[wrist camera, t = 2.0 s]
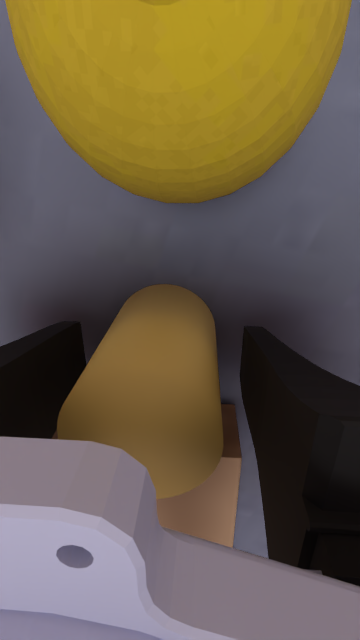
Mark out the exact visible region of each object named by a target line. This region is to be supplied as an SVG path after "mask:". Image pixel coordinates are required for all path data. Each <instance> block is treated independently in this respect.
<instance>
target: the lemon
mask: <svg viewBox="0 0 360 640" xmlns="http://www.w3.org/2000/svg"><path fill="white" fill-rule="evenodd" d="M5 1H6V6H7V11H8V15H9V20H10V24H11V29H12V33H13V38H14V43H15V46H16V49H17V53H18V55H19V58H20V60H21V62H22V65H23V67H24V69H25V72H26V74H27V76H28V78H29V81H30V83H31V85H32V88H33V90H34V92H35V95H36V97H37V99H38V101H39V103H40V104H41V106H42V108H43V109H44V110H45V112H46V113H47V115H48V116H49V118H50V119H51V121H52V122H53V124H54V125H55V127H56V128H57V129H58V131H59V132H60V134H61V135H62V137H63V138H64V140H65V141H66V143H67V144H68V145H69V146H70V147H71V148H72V149H73V150H74V151H75V152H76V153H77V154H78V155H79V156H80V157H81V158H82V159H84V160H85V161H86V162H87V163H88V164H89V165H90V166H91V167H92V168H93V169H94V170H95V171H96V172H97V173H98V174H100V175H101V176H102V177H104V178H106V179H107V180H109V181H111V182H113V183H114V184H116V185H118V186H120V187H122V188H123V189H125V190H127V191H129V192H131V193H132V194H135V195H138V196H142V197H146V198H150V199H153V200H157V201H161V202H165V203H200V202H204V201H207V200H211V199H214V198H218V197H221V196H225V195H229V194H231V193H233V192H235V191H236V190H238V189H240V188H242V187H243V186H245V185H247V184H248V183H250V182H252V181H254V180H255V179H257V178H259V177H261V176H262V175H263V174H264V173H265V172H266V171H267V170H268V169H269V168H270V167H271V166H272V165H273V164H274V163H276V162H277V161H278V160H279V159H280V158H281V157H282V156H283V155H284V154H285V153H286V152H287V151H288V150H289V149H290V148H291V147H292V146H293V144H294V143H295V141H296V140H297V138H298V137H299V135H300V134H301V132H302V131H303V129H304V128H305V127H306V125H307V124H308V122H309V121H310V119H311V118H312V116H313V115H314V113H315V112H316V110H317V108H318V107H319V104H320V102H321V100H322V97H323V95H324V92H325V90H326V88H327V85H328V83H329V80H330V78H331V76H332V73H333V71H334V68H335V66H336V64H337V61H338V59H339V56H340V53H341V50H342V45H343V40H344V35H345V31H346V26H347V21H348V16H349V11H350V7H351V2H352V0H5Z"/></svg>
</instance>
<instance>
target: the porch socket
mask: <svg viewBox="0 0 360 640" xmlns="http://www.w3.org/2000/svg"><path fill="white" fill-rule="evenodd" d="M221 413H222V426H223V452H222V456H221V459H220V462H219V464H218V465H217V467H216V469H215V470H214V472H213V473H212V474H211V476H209V477H208V478H207V479H206V480H205V481H204V482H203V483H202V484H200V485H199V486H197V487H196V488H194V489H192V490H190V491H188V492H185V493H183V494H180V495H177V496H173V497H168V498H163V499H156V504H157V516H158V520H159V524H160V526H162V527H165V528H169V529H172V530H175V531H179V532H182V533H185V534H188V535H192V536H195V537H198V538H202V539H205V540H208V541H212V542H215V543H218V544H221V545H225V546H228V547H231V548H232V547H233V538H234V528H235V518H236V509H237V499H238V489H239V480H240V470H241V460H242V457H241V449H240V442H239V434H238V426H237V419H236V411H235V405H231V404H221ZM52 439H58V433H57V430H56V432H55V433H54V435H53V437H52Z"/></svg>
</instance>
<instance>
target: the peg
mask: <svg viewBox="0 0 360 640" xmlns="http://www.w3.org/2000/svg"><path fill="white" fill-rule="evenodd" d="M57 433H58V439H59V440H79V441H93V442H97V443H101V444H105V445H109V446H113V447H117V448H121V449H122V450H124V451H125V452H126V453H128V454H129V455H130V456H132V457H133V458H134V459H136V460H137V461H138V462H140V463H141V464H142V465H144V466H145V467H146V468H147V470H148V473H149V475H150V477H151V480H152V482H153V485H154V487H155V489H156V499H163V498H168V497H173V496H177V495H180V494H183V493H185V492H188V491H190V490H192V489H194V488H196V487H197V486H199V485H200V484H202V483H203V482H204V481H205V480H206V479H207V478H208V477H209V476H211V474H212V473H213V472H214V470H215V469H216V467H217V465H218V464H219V462H220V459H221V456H222V452H223V426H222V413H221V399H220V385H219V372H218V358H217V344H216V331H215V323H214V319H213V316H212V313H211V311H210V309H209V308H208V306H207V305H206V304H205V303H204V301H203V300H202V299H201V298H200V297H198V296H197V295H196V294H194V293H193V292H191V291H189V290H187V289H185V288H183V287H180V286H176V285H170V284H157V285H151V286H148V287H145V288H143V289H141V290H139V291H137V292H136V293H134V294H133V295H132V296H130V297H129V298H128V300H127V301H126V302H125V303H124V305H123V306H122V308H121V310H120V311H119V313H118V314H117V316H116V318H115V319H114V321H113V323H112V324H111V326H110V328H109V329H108V331H107V333H106V334H105V336H104V338H103V339H102V341H101V343H100V344H99V346H98V347H97V349H96V351H95V352H94V354H93V356H92V357H91V359H90V361H89V362H88V364H87V366H86V367H85V369H84V371H83V372H82V374H81V376H80V377H79V379H78V380H77V382H76V384H75V385H74V387H73V389H72V390H71V392H70V394H69V395H68V397H67V399H66V400H65V402H64V404H63V405H62V408H61V410H60V412H59V416H58V421H57Z"/></svg>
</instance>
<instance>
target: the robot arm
mask: <svg viewBox="0 0 360 640" xmlns="http://www.w3.org/2000/svg"><path fill="white" fill-rule="evenodd" d="M85 367H86V360H85V353H84V345H83V338H82V331H81V324H80V322H70V321H64V322H60V323H56V324H54V325H51V326H49V327H46V328H44V329H41V330H39V331H37V332H35V333H32V334H30V335H28V336H25V337H23V338H21V339H18V340H16V341H13V342H11V343H8V344H6V345H3V346H1V347H0V640H360V386H358V385H356V384H354V383H351V382H349V381H346V380H344V379H342V378H340V377H337V376H335V375H333V374H332V373H330V372H328V371H326V370H324V369H322V368H320V367H318V366H316V365H315V364H313V363H311V362H310V361H308V360H307V359H305V358H304V357H302V356H300V355H299V354H297V353H296V352H295V351H293V350H292V349H290V348H289V347H288V346H286V345H285V344H284V343H282V342H281V341H280V340H278V339H277V338H276V337H275V336H273V335H272V334H271V333H270V332H268V331H267V330H266V329H264V328H263V327H251V326H244V333H243V345H242V356H241V368H240V382H241V392H242V399H243V404H244V408H245V412H246V416H247V420H248V424H249V428H250V432H251V436H252V440H253V444H254V448H255V453H256V458H257V464H258V471H259V479H260V487H261V495H262V503H263V511H264V520H265V529H266V538H267V547H268V557H269V559H268V558H264V557H261V556H258V555H254V554H251V553H248V552H244V551H241V550H238V549H235V548H231V547H228V546H225V545H221V544H218V543H215V542H212V541H208V540H205V539H202V538H198V537H195V536H192V535H188V534H185V533H182V532H179V531H175V530H172V529H169V528H165V527H162V526H160V524H159V520H158V516H157V504H156V489H155V487H154V485H153V482H152V480H151V477H150V475H149V473H148V470H147V468H146V467H145V466H144V465H142V464H141V463H140V462H138V461H137V460H136V459H134V458H133V457H132V456H130V455H129V454H128V453H126V452H125V451H124V450H122V449H121V448H117V447H113V446H109V445H105V444H101V443H97V442H93V441H79V440H59V439H52V437H53V435H54V433H55V432H56V430H57V421H58V416H59V412H60V410H61V408H62V405H63V404H64V402H65V400H66V399H67V397H68V395H69V394H70V392H71V390H72V389H73V387H74V385H75V384H76V382H77V380H78V379H79V377H80V376H81V374H82V372H83V371H84V369H85Z"/></svg>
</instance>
